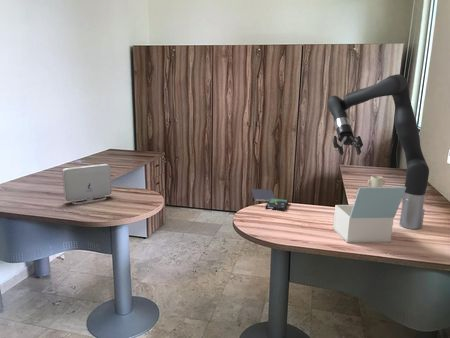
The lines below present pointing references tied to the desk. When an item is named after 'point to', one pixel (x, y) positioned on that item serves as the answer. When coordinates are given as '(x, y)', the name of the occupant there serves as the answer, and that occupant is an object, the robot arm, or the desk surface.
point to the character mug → (376, 181)
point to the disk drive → (277, 204)
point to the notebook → (263, 194)
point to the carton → (361, 227)
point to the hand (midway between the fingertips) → (350, 154)
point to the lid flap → (377, 202)
